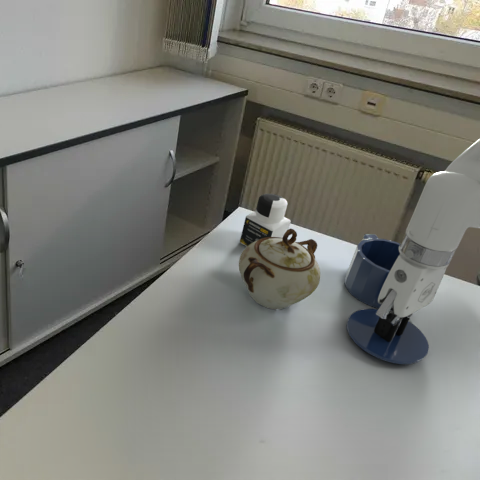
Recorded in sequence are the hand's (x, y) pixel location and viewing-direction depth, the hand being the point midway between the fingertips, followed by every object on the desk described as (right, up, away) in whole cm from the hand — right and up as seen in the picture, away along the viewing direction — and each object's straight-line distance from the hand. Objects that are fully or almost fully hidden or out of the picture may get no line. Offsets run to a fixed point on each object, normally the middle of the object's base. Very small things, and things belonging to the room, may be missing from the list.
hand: (387, 332), depth 96 cm
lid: (0, -1, 0) cm, 1 cm away
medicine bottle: (-16, +15, +25) cm, 33 cm away
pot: (+5, +6, +14) cm, 16 cm away
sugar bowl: (-18, +5, +10) cm, 21 cm away
